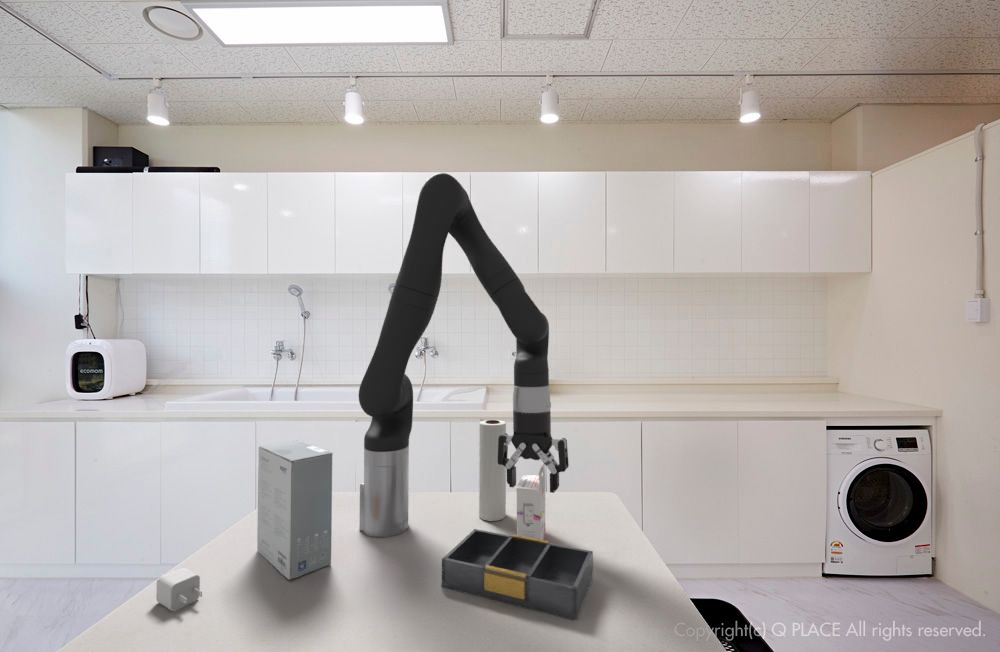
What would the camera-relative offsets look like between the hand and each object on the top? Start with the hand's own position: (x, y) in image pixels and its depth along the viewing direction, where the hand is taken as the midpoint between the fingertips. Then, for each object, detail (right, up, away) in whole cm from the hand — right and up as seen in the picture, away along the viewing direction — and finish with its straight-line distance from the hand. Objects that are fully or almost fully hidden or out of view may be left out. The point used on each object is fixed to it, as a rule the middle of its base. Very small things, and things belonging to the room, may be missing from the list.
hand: (532, 488), depth 90 cm
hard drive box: (-45, -10, -8) cm, 46 cm away
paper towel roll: (-8, -11, +12) cm, 18 cm away
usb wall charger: (-55, -10, -22) cm, 60 cm away
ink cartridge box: (0, -10, 0) cm, 10 cm away
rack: (-4, -10, -16) cm, 19 cm away
